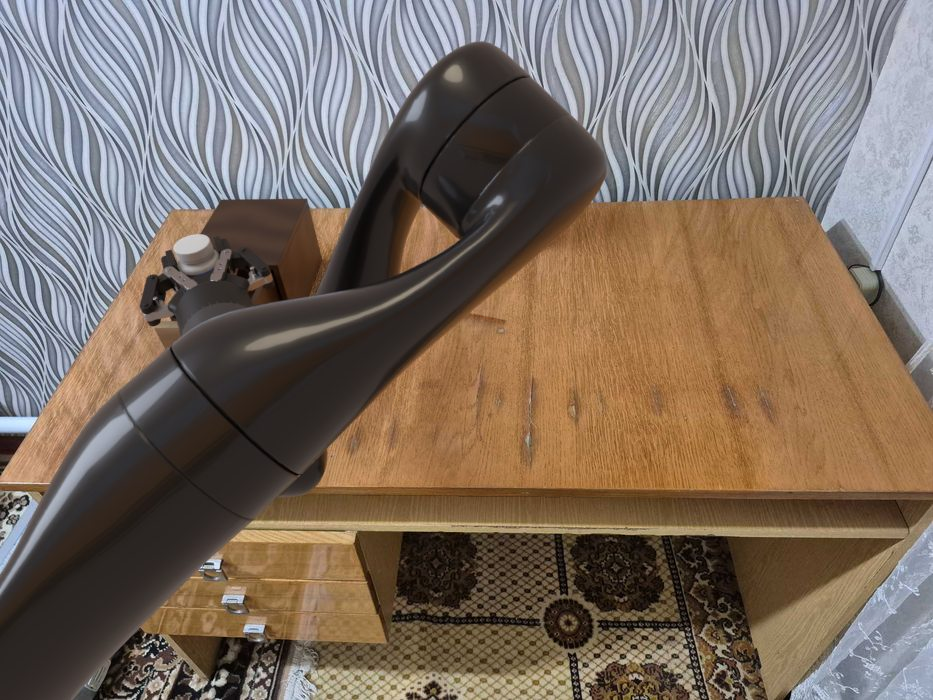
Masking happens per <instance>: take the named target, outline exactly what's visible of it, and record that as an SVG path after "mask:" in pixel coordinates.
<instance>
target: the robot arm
mask: <svg viewBox="0 0 933 700" xmlns="http://www.w3.org/2000/svg"><path fill="white" fill-rule="evenodd" d="M606 154H607V153H606V152H605V151H604V149H603V148H602V146H601V144H599V142H598V141H597V140H596V138H594V136H593V135H592V134H591V133H590V132H589V131H588V130H587V129H586V128H585V127H584V126H583V125H582V123H580V122H579V120H577V119H576V118H575V117H574V116H573V115H572V114H571V113H570V112H569V111H568V110H567V109H566V108H565V107H564V106H563V105H562V104H560V102H558V101H557V100H556V99H555V98H554V97H553V96H552V95H551V94H550V93H549V92H548V91H547V90H546V89H545V88H544V87H543V86H541V84H540V83H539V82H538V81H536V80H535V79H534V78H533V77H532V76H531V75H530V74H529V72H527V71H526V70H525V69H524V68H523V67H522V66H520V65H519V64H518V63H517V62H516V60H514V59H513V58H512V57H511V56H510V55H509V54H508V53H506V52H505V51H504V50H502V49H501V48H500V47H498V46H497V45H495V44H493V43H491V42H488V41H484V40H481V41H471V42H469V43H466V44H463V45H462V46H458V47H457V48H455V49H453V50H452V51H450V52H449V53H447V54H445V56H443V57H441V58H440V59H439V60H438V61H437V62H435V64H434V65H433V66H431V68H430V69H429V70H428V71H426V73H425V74H424V75H423V76H422V77H421V78H420V80H419V81H418V82H417V83H416V85H415V86H414V88H413V89H412V90H411V91H410V93H409V94H408V95H407V97H406V98H405V100H404V101H403V102H402V105H401V106H400V108H399V109H398V111H397V113H396V114H395V116H394V118H393V120H392V122H391V123H390V125H389V127H388V130H387V132H386V134H385V135H384V138H383V140H382V142H381V143H380V146H379V147H378V150H377V152H376V154H375V157H374V159H373V161H372V163H371V166H370V167H369V170H368V172H367V174H366V176H365V178H364V181H363V183H362V185H361V188H360V190H359V192H358V194H357V196H356V198H355V201H354V203H353V205H352V207H351V209H350V211H349V213H348V216H347V218H346V220H345V223H344V225H343V227H342V230H341V232H340V234H339V236H338V239H337V241H336V243H335V247H334V248H333V252H332V253H331V256H330V258H329V261H328V264H327V266H326V268H325V270H324V273H323V274H322V277H321V279H320V282H319V283H318V286H317V287H316V290H315V292H314V293H313V295H309V296H308V297H302V298H295V299H289V300H283V301H277V302H271V303H266V304H261V305H257V306H253V304H252V301H251V296H252V291H253V290H255V289H257V288H259V287H261V286H263V287H264V288H265V289H271V288H273V287H274V286H275V284H274V281H273V278H272V275H271V272H270V269H269V266H268V265H267V264H266V263H265V262H263V261H262V260H261V259H260V258H259V257H258V256H257V255H255V254H254V253H253V252H252V251H251V250H250V249H249V248H247V247H242V248H240V249H239V250H238V252H233V251H232V250H231V248H230V246H229V243H228V241H227V239H225V238H223V239H220V238H219V236H216V237H213V239H214V242H215V245H216V247H217V250H218V253H219V255H220V257H219V260H216V263H215V267H214V271H211V272H208V273H206V274H204V275H201V276H195V277H192V278H189V277H188V276H186V275H185V274H184V273H183V272H182V271H180V272H179V270H178V267H177V263H178V260H177V258H176V256H175V253H174V251H173V249H168V250H165V251H164V253H165V255H163V256H161V258H160V263H161V265H162V273H161V274H159V275H157V274H155V273H153V274H149V275H148V276H147V277H146V278H145V282H144V286H143V290H142V295H141V299H140V303H139V309H140V311H141V313H142V315H143V317H144V319H145V321H146V323H147V324H148V326H150V327H153V328H154V327H155V326H157V325H158V324H160V322H161V321H162V319H166V318H170V317H172V318H173V319H174V320H176V321H177V323H178V327H179V331H180V335H181V337H180V338H179V339H178V340H176V341H175V342H174V343H173V344H172V347H168V348H167V349H166V350H165V349H164V350H163V351H162V352H161V353H160V354H159V355H158V356H157V357H155V358H154V359H153V360H152V361H151V362H149V363H148V364H147V365H145V367H144V368H142V370H140V371H139V372H138V373H137V374H136V375H134V376H133V377H132V378H131V379H130V380H129V381H128V382H126V383H125V384H124V385H123V386H122V387H121V388H119V390H118V391H116V392H115V393H114V394H113V395H112V396H111V397H110V398H108V399H107V401H106V402H105V403H104V404H103V405H102V406H101V407H99V408H98V409H97V411H96V412H95V413H94V414H93V415H92V416H91V417H90V419H89V420H88V421H87V422H86V424H85V425H84V427H83V428H82V429H81V431H80V432H79V434H78V435H77V436H76V438H75V439H74V441H73V442H72V444H71V446H70V448H69V449H68V451H67V452H66V454H65V455H64V458H63V459H62V461H61V463H60V465H59V467H58V469H57V470H56V471H55V474H54V475H53V477H52V479H51V481H50V482H49V483H48V486H47V488H46V489H45V491H44V493H43V495H42V497H41V499H40V501H39V502H38V504H37V505H36V508H35V510H34V511H33V514H32V515H31V518H30V520H29V522H28V524H27V525H26V527H25V529H24V531H23V533H22V535H21V536H20V539H19V541H18V543H17V545H16V547H15V549H14V550H13V552H12V554H11V556H10V557H9V559H8V562H7V563H6V565H5V567H4V568H3V571H2V572H1V574H0V700H74V699H75V698H76V697H77V695H78V694H79V693H80V692H81V691H82V690H83V689H84V687H85V686H86V685H87V684H88V683H89V682H90V680H91V679H93V678H94V676H95V675H96V674H98V672H99V671H100V670H101V668H102V667H104V666H105V664H106V663H107V662H108V661H109V660H110V659H111V658H112V657H113V656H114V655H115V654H116V653H117V651H119V649H121V647H123V645H125V643H126V642H127V641H128V640H129V639H130V638H131V637H132V636H133V635H134V634H135V633H137V632H138V630H139V629H141V628H142V626H144V624H145V623H147V621H148V620H149V619H150V618H151V617H152V616H153V615H154V614H155V613H156V612H157V611H158V610H159V609H161V607H162V606H163V605H164V604H165V603H166V602H167V601H168V600H170V598H172V596H174V594H176V592H177V591H178V590H179V589H181V588H182V586H183V585H184V584H186V582H188V581H189V580H190V579H191V578H192V576H194V575H195V574H196V573H197V572H198V571H199V570H200V569H201V568H202V567H203V566H204V565H205V564H206V563H207V562H208V561H209V560H210V559H211V558H212V557H214V556H216V554H217V553H218V552H219V551H220V550H222V548H224V547H225V546H226V545H227V544H228V543H229V542H230V541H232V540H234V538H235V537H236V536H237V535H239V534H240V533H241V532H242V531H243V530H244V529H245V528H246V527H248V526H249V525H250V524H252V522H254V520H255V519H256V518H257V517H258V516H259V515H260V514H262V513H263V512H264V511H265V510H266V509H267V508H268V507H269V506H270V505H271V504H272V503H273V502H274V501H275V500H276V499H277V498H295V497H301V496H304V495H306V494H308V493H311V491H313V490H314V489H315V488H316V487H317V486H318V485H319V484H320V482H321V480H323V479H322V478H323V477H324V475H325V472H326V469H327V465H328V458H329V455H328V448H329V447H330V446H331V445H333V443H334V442H335V441H336V440H337V439H338V438H339V437H340V436H341V435H342V434H343V433H344V432H345V431H347V429H348V428H349V427H350V426H351V425H352V424H353V423H354V422H356V420H357V419H358V418H359V417H360V416H361V415H362V414H363V413H364V412H365V411H366V410H367V409H368V407H370V406H371V405H372V404H373V403H374V401H376V400H377V398H379V397H380V396H381V395H382V394H383V393H384V392H385V390H387V388H389V387H390V385H392V384H393V383H394V382H395V381H396V380H397V379H398V378H399V377H400V376H401V375H402V374H403V373H404V372H405V371H406V370H407V369H408V368H409V367H411V366H412V365H413V363H414V362H416V361H417V360H418V359H419V358H420V357H421V356H422V355H423V354H424V353H426V352H427V351H428V350H429V349H431V347H432V346H433V345H435V344H436V343H437V342H438V341H439V340H440V339H442V338H443V337H444V336H445V335H446V334H447V333H449V331H451V330H452V329H453V328H454V327H455V326H457V325H458V324H460V322H461V321H463V320H464V319H465V318H466V317H467V316H468V315H470V313H472V312H473V311H474V310H475V309H477V308H478V307H479V306H480V305H481V304H483V303H484V302H485V301H486V300H487V299H489V297H490V296H492V295H493V294H495V292H497V291H498V290H499V289H500V288H501V287H503V286H504V285H505V284H506V283H507V282H508V281H510V280H511V279H512V278H513V277H514V276H516V275H517V274H518V273H519V272H521V270H522V269H524V268H525V267H526V266H528V265H529V264H530V263H531V262H532V261H533V260H534V259H536V257H538V256H539V255H540V254H541V253H542V252H544V250H545V249H547V248H548V247H549V246H550V245H551V244H552V243H554V242H555V241H556V240H557V239H559V237H560V236H561V235H562V234H564V233H565V232H566V231H567V230H568V229H569V228H570V227H571V226H572V225H573V224H574V223H575V222H576V221H577V219H579V217H581V215H582V214H583V213H584V212H585V210H586V209H587V208H588V207H589V206H590V205H591V203H592V202H593V201H594V200H595V198H596V197H597V195H598V193H599V192H600V190H601V188H602V186H603V184H604V182H605V180H606V177H607V174H608V158H607V155H606ZM422 206H424V207H425V208H426V209H427V210H428V211H429V212H430V213H431V214H432V215H433V216H434V217H435V218H436V219H437V220H438V221H439V222H440V223H441V224H442V225H443V226H444V227H445V228H446V229H447V230H448V231H449V232H450V233H451V234H452V235H453V236H454V237H455V238H456V239H458V240H457V241H456V242H454V243H453V244H451V245H450V246H449V247H447V248H445V249H443V250H442V251H440V252H439V253H437V254H435V255H434V256H432V257H430V258H428V259H426V260H424V261H422V262H420V263H418V264H416V265H415V266H413V267H410V268H408V269H406V270H405V271H403V272H401V270H402V263H403V258H404V253H405V247H406V243H407V240H408V236H409V234H410V231H411V228H412V226H413V223H414V221H415V219H416V217H417V215H418V213H419V211H420V209H421V207H422ZM238 268H244V270H245V271H246V272H248V273H249V279H248V280H247V279H245V278H243V277H239V276H236V275H237V271H238ZM170 290H171V291H172V292H173V293H174V295H173V296H172V297H171V298H170V300H169V302H168V303H167V304H166V297H167V292H168V291H170Z"/></svg>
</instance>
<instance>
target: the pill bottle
mask: <svg viewBox="0 0 933 700" xmlns="http://www.w3.org/2000/svg"><path fill="white" fill-rule="evenodd" d="M172 250H173V253H174V256H175V258H176V260H177V267H178V270H179V272H180V271H182V272H183V273H184V274H185V275H186V276H188V277H189V278H192V277H195V276H201V275H204V274H206V273H208V272H211V271H214V267H215V263H216V260H219V257H220V255H219V253H218V252H217V251H216V250H214V249H213V245H212V243H211V241H210V239H209V237H208V236H206V235H202V234H200V233H195V234H190V235H189V234H188V235H187V236H184V237H182V238H180V239H178V240H177V241H176V242H175V243H174V245H173V249H172Z"/></svg>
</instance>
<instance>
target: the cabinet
mask: <svg viewBox="0 0 933 700" xmlns="http://www.w3.org/2000/svg"><path fill="white" fill-rule="evenodd" d="M310 208H311V207H310V204H309V201H308V198H244V199H242V198H240V199H239V198H238V199H237V198H235V199H220V200H219V203H218V204H217V206H216V207H215V209H214V211H213V212H212V214H211V215H210V217H209V218H208V220H207V222H205V223H206V224H205V225H204V227H203V228H202V230H201V231H200V233H199V234H202V235H206V236H208V237H209V239H210V241H211V243H212V245H213V249H214V250H216V251H217V252H218V250H217V247H216V245H215V242H214V239H213V237H216V236H219V238H220V239H223V238H225V239H227V241H228V243H229V246H230V248H231V250H232V251H233V252H238V250H239V249H240V248H242V247H247V248H249V249H250V250H251V251H252V252H253V253H254V254H255V255H257V256H258V257H259V258H260V259H261V260H262V261H263V262H265V263H266V264H267V265H268V266H269V269H270V270H273V272H274V275H275V278H276V281H277V284H278V287H279V290H280V293H281V297H282V300H289V299H295V298H302V297H308V296H310V294H311V291H312V288H313V285H314V283H315V280H316V277H317V275H318V272H319V269H320V266H321V264H322V261H323V257H322V253H321V248H320V245H319V240H318V236H317V233H316V229H315V228H316V227H315V224H314V221H313V220H314V219H313V217H312V213H311V209H310ZM238 270H244V268H238Z"/></svg>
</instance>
